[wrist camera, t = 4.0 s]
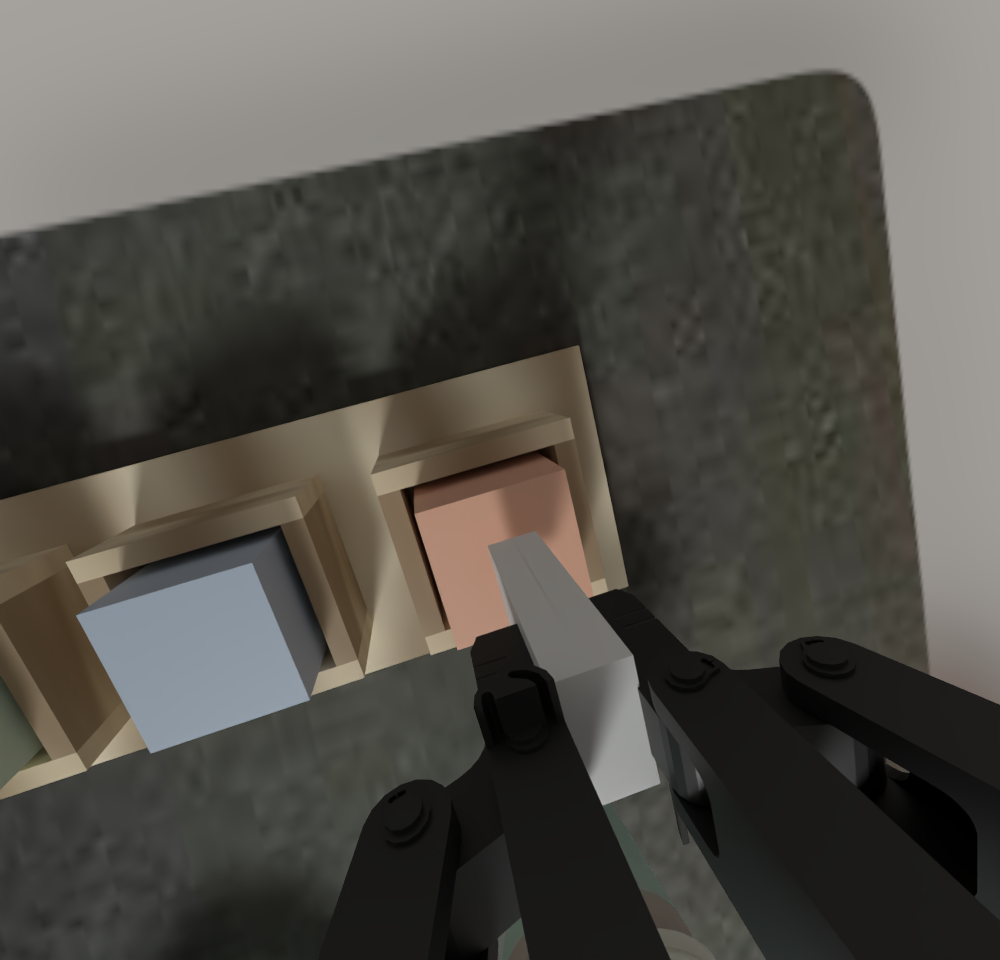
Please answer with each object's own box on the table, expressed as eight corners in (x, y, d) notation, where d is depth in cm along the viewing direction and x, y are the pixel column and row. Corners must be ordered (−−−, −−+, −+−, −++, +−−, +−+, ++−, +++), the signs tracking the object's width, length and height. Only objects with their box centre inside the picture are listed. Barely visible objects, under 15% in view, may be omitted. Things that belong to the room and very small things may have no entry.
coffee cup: (456, 741, 25) (494, 1051, 14) (609, 708, 26) (762, 964, 15) (474, 868, 27) (520, 1232, 16) (616, 831, 28) (755, 1142, 17)
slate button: (204, 676, 19) (150, 753, 15) (149, 563, 18) (76, 615, 14) (330, 635, 19) (309, 700, 16) (286, 523, 18) (251, 562, 14)
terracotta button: (449, 597, 20) (457, 650, 16) (413, 485, 19) (414, 514, 15) (560, 561, 21) (595, 603, 17) (534, 450, 19) (564, 469, 15)
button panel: (-45, 798, 21) (-179, 922, 16) (-212, 556, 18) (-435, 621, 13) (620, 578, 25) (670, 626, 20) (571, 346, 22) (616, 338, 17)
